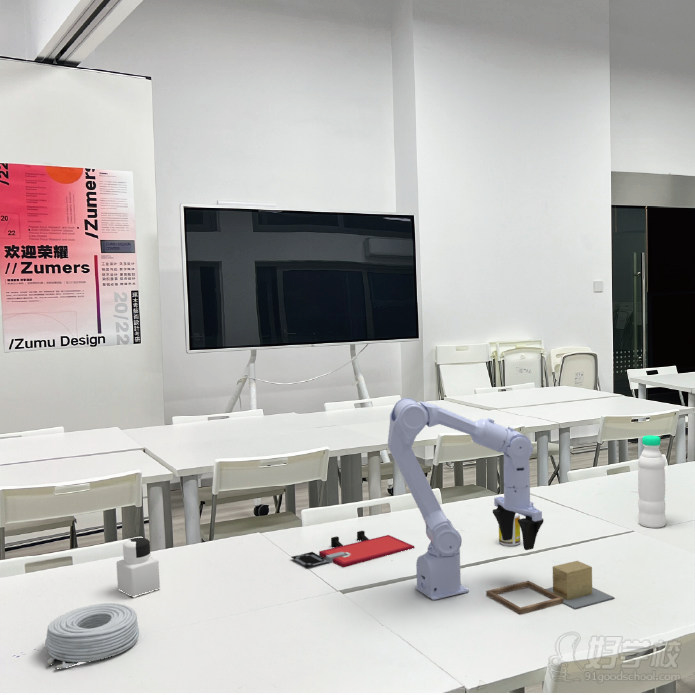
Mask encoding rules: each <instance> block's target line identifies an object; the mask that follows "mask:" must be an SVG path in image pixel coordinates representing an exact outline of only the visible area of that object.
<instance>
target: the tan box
mask: <svg viewBox="0 0 695 695" xmlns="http://www.w3.org/2000/svg"><path fill="white" fill-rule="evenodd" d="M552 587H553V593H554V594H556V595H558V596H560V597H562V598H564V599H566V600H571V599H574V598H578V597H582V596H586V595H590V594H592V587H593V567H592V566H591V565H589V564H586V563H584V562H581V561H579V560H574V561H571V562H567V563H566V562H565V563H562V564H557V565H553V566H552Z"/></svg>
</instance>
